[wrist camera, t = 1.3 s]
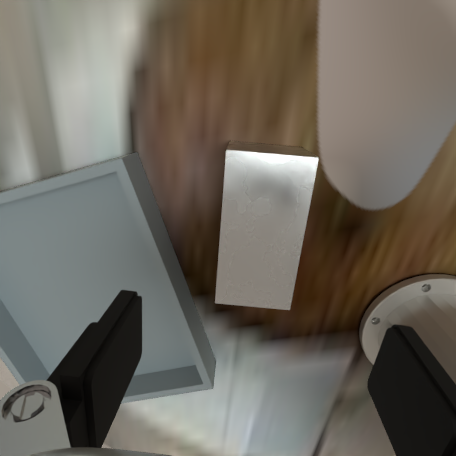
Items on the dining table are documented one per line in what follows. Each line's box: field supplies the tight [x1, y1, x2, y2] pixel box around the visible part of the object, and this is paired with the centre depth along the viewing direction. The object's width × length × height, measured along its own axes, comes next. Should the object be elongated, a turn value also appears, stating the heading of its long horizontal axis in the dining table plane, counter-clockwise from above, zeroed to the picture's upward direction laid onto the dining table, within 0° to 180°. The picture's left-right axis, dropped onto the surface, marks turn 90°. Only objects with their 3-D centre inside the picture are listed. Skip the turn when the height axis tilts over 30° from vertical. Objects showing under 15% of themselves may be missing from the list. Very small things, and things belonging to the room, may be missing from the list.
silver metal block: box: [215, 141, 319, 310], centre depth 24 cm, size 12×6×6 cm, turn 175°
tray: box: [0, 152, 216, 403], centre depth 29 cm, size 24×20×4 cm
